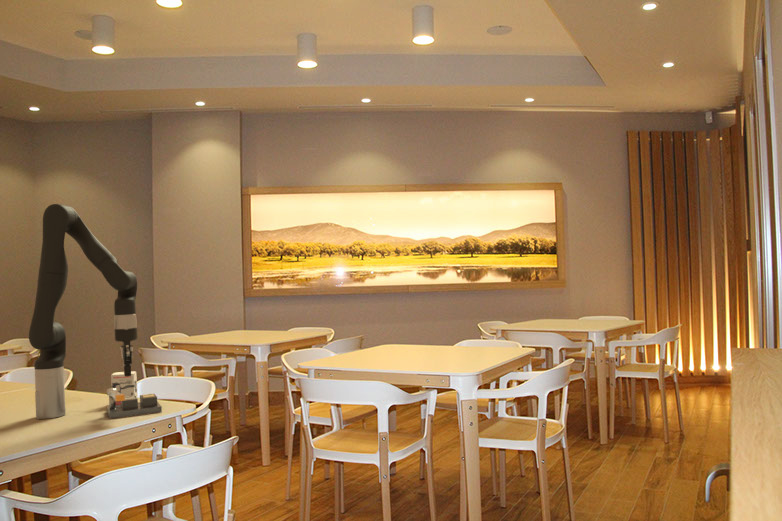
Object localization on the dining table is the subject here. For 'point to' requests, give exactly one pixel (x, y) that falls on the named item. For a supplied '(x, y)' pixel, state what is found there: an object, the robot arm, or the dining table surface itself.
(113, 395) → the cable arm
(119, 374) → the ink box
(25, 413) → the dining table surface
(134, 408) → the dark boxy piece
